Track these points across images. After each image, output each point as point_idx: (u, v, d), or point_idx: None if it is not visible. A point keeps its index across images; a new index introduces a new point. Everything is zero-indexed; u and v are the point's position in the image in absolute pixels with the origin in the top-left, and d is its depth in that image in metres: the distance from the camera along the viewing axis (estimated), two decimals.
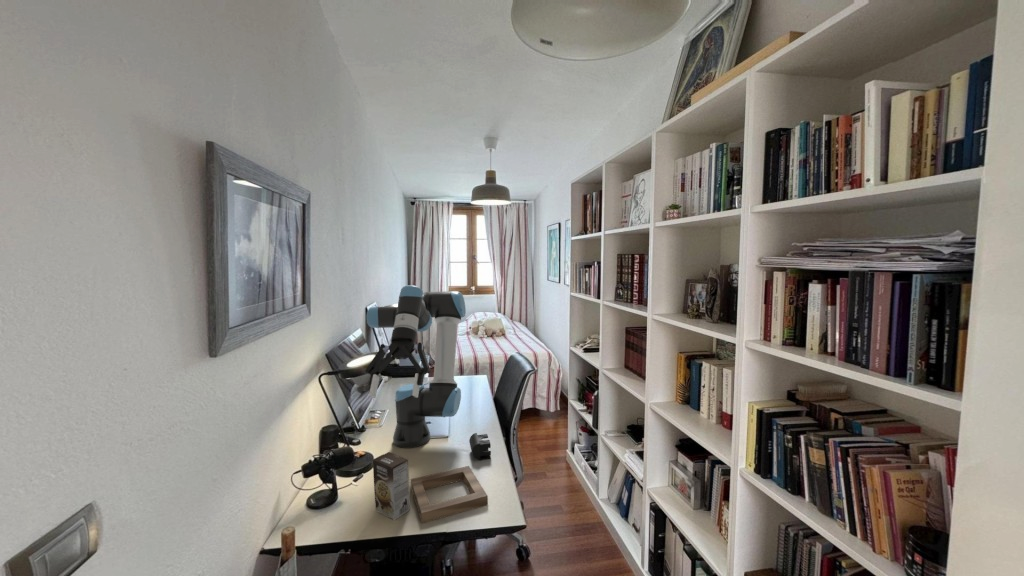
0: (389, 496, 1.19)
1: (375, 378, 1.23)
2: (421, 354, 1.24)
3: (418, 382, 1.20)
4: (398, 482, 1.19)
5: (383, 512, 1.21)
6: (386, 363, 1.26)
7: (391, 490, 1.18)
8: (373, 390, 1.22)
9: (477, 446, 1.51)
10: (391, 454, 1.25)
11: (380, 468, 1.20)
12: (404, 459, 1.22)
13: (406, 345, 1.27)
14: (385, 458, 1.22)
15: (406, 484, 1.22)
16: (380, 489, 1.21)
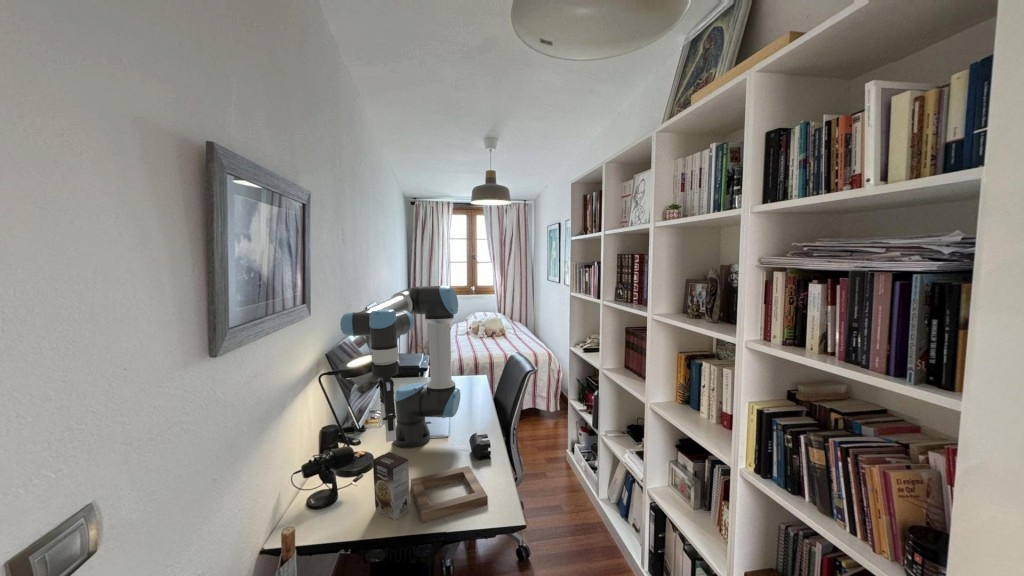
0: (389, 496, 1.19)
1: (382, 407, 1.27)
2: (384, 399, 1.13)
3: (388, 428, 1.14)
4: (398, 482, 1.19)
5: (383, 512, 1.21)
6: None
7: (391, 490, 1.18)
8: None
9: (477, 446, 1.51)
10: (391, 454, 1.25)
11: (380, 468, 1.20)
12: (404, 459, 1.22)
13: (382, 382, 1.18)
14: (385, 458, 1.22)
15: (406, 484, 1.22)
16: (380, 489, 1.21)
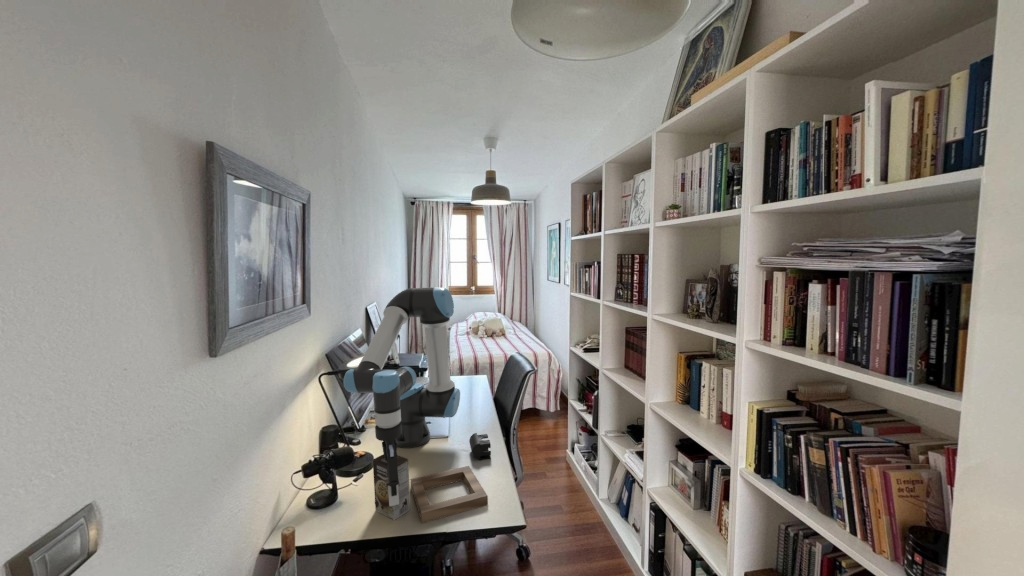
0: None
1: None
2: (388, 465, 1.15)
3: (391, 493, 1.17)
4: None
5: (383, 512, 1.21)
6: None
7: None
8: None
9: (477, 446, 1.51)
10: None
11: (380, 468, 1.20)
12: (404, 459, 1.22)
13: (385, 444, 1.20)
14: None
15: (406, 484, 1.22)
16: (380, 489, 1.21)
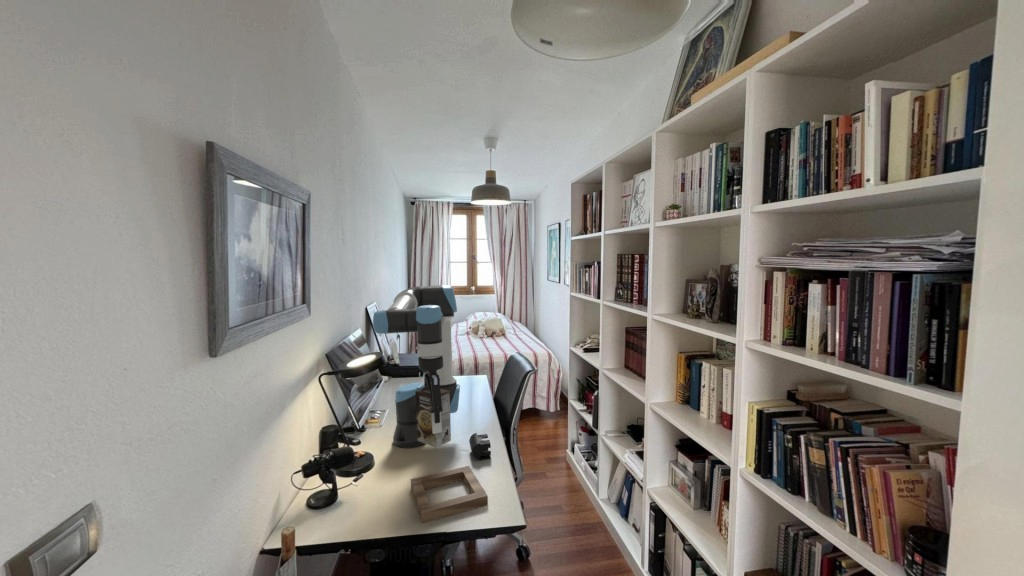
0: None
1: None
2: (432, 392, 1.19)
3: (434, 421, 1.20)
4: None
5: (425, 441, 1.25)
6: None
7: None
8: None
9: (477, 446, 1.51)
10: None
11: (423, 398, 1.24)
12: (446, 391, 1.26)
13: (428, 375, 1.23)
14: (427, 390, 1.26)
15: (448, 415, 1.26)
16: (422, 419, 1.25)
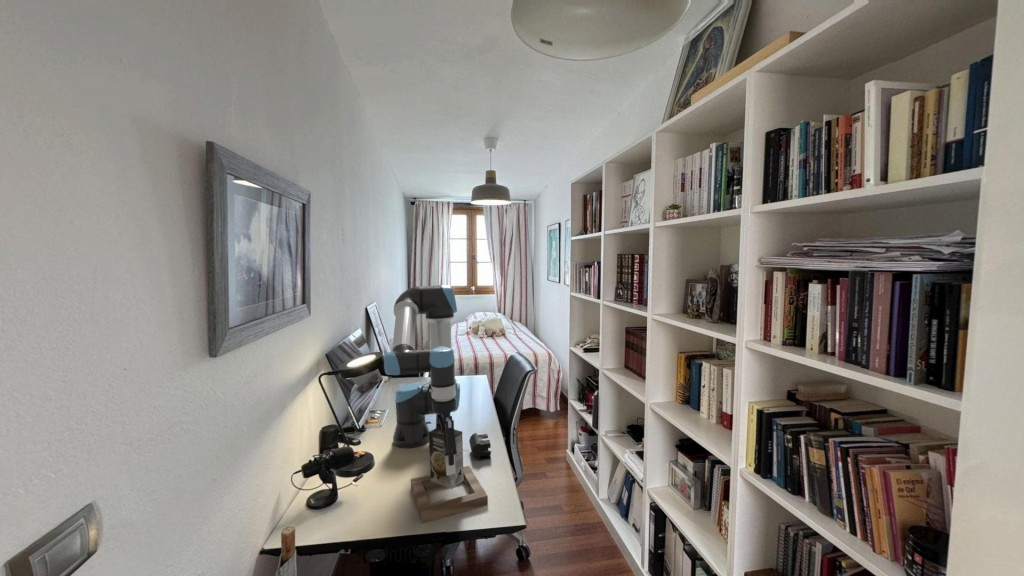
0: None
1: None
2: (446, 435, 1.21)
3: (448, 463, 1.23)
4: None
5: (439, 482, 1.27)
6: None
7: None
8: None
9: (477, 446, 1.51)
10: None
11: (436, 440, 1.26)
12: (458, 432, 1.28)
13: (442, 417, 1.26)
14: (440, 431, 1.28)
15: (461, 455, 1.28)
16: (436, 460, 1.27)
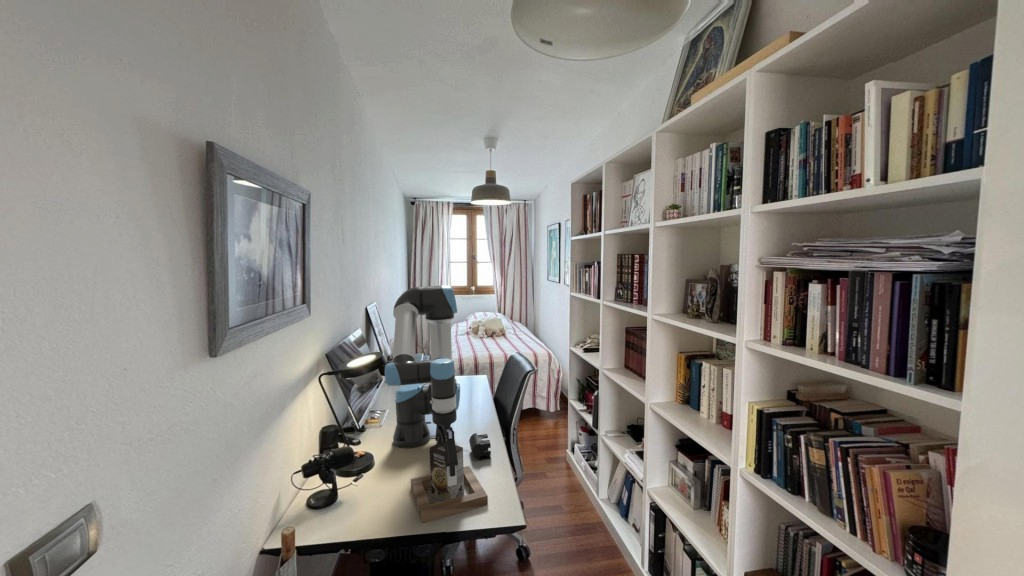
0: (446, 482, 1.25)
1: None
2: (447, 446, 1.21)
3: (450, 474, 1.22)
4: None
5: (440, 498, 1.27)
6: None
7: None
8: None
9: (477, 446, 1.51)
10: None
11: (437, 456, 1.26)
12: (459, 447, 1.28)
13: (442, 429, 1.26)
14: (441, 447, 1.29)
15: (461, 471, 1.28)
16: (437, 476, 1.27)
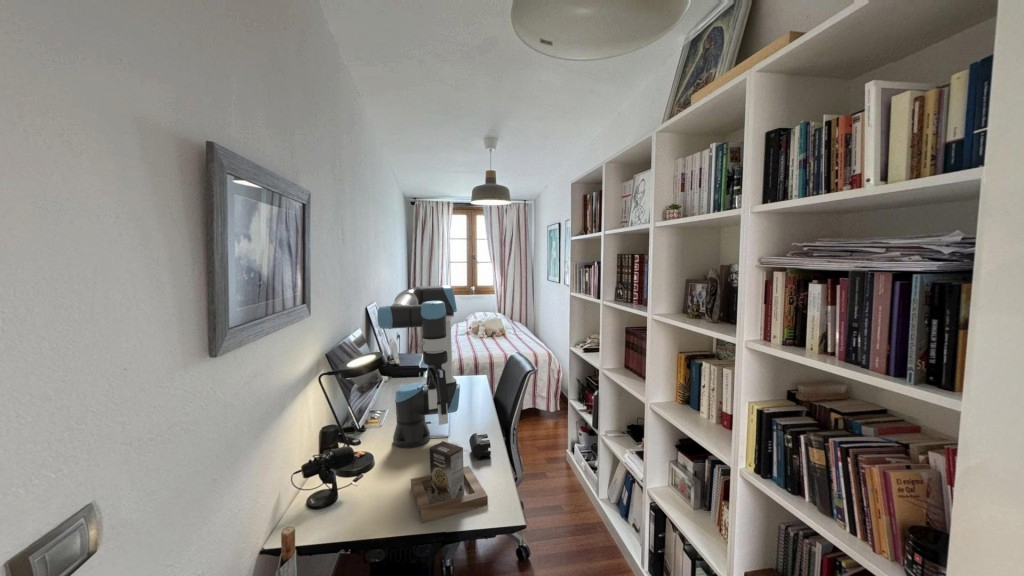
0: (446, 482, 1.25)
1: (430, 393, 1.35)
2: (438, 385, 1.21)
3: (441, 412, 1.22)
4: (455, 469, 1.26)
5: (440, 498, 1.27)
6: None
7: (448, 476, 1.25)
8: (431, 404, 1.35)
9: (477, 446, 1.51)
10: (445, 443, 1.32)
11: (437, 456, 1.26)
12: (459, 447, 1.28)
13: (433, 369, 1.26)
14: (441, 447, 1.29)
15: (461, 471, 1.28)
16: (437, 476, 1.27)
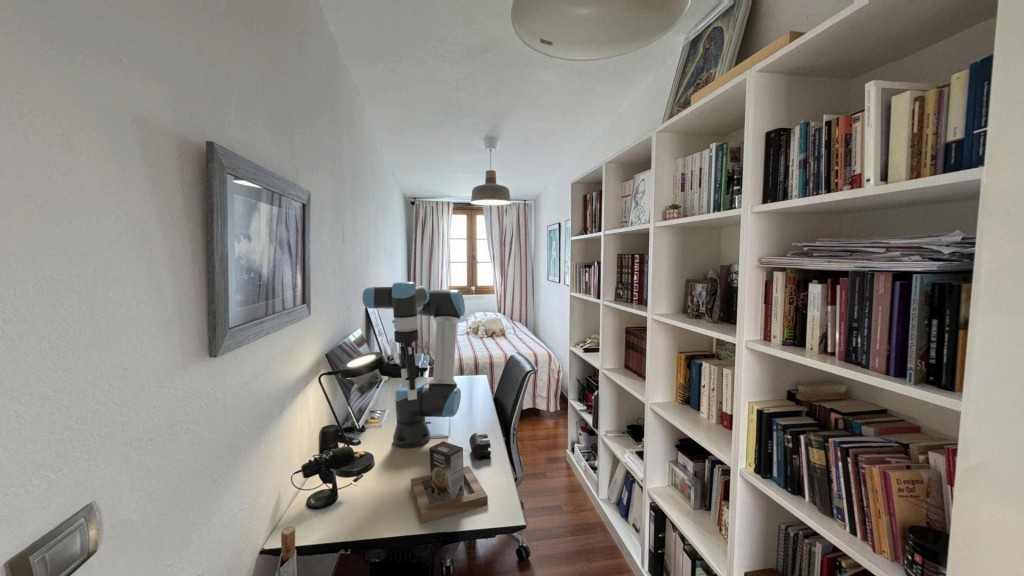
0: (446, 482, 1.25)
1: (403, 372, 1.40)
2: (407, 361, 1.26)
3: (410, 388, 1.27)
4: (455, 469, 1.26)
5: (440, 498, 1.27)
6: None
7: (448, 476, 1.25)
8: (404, 382, 1.40)
9: (477, 446, 1.51)
10: (445, 443, 1.32)
11: (437, 456, 1.26)
12: (459, 447, 1.28)
13: (404, 347, 1.31)
14: (441, 447, 1.29)
15: (461, 471, 1.28)
16: (437, 476, 1.27)
